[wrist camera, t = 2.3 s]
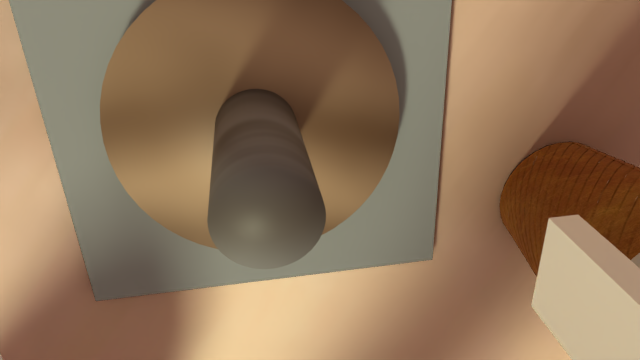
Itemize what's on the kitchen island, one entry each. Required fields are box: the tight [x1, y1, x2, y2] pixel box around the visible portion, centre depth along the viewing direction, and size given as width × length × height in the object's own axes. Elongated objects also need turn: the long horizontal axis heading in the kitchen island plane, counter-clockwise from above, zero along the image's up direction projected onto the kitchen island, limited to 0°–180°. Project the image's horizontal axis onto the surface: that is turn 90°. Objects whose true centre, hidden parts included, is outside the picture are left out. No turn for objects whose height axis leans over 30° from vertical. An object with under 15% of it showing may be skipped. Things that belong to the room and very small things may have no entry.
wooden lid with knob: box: [100, 0, 400, 269], centre depth 20 cm, size 13×13×9 cm
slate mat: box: [9, 0, 452, 301], centre depth 24 cm, size 18×18×1 cm
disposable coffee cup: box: [500, 142, 640, 276], centre depth 24 cm, size 10×10×12 cm
